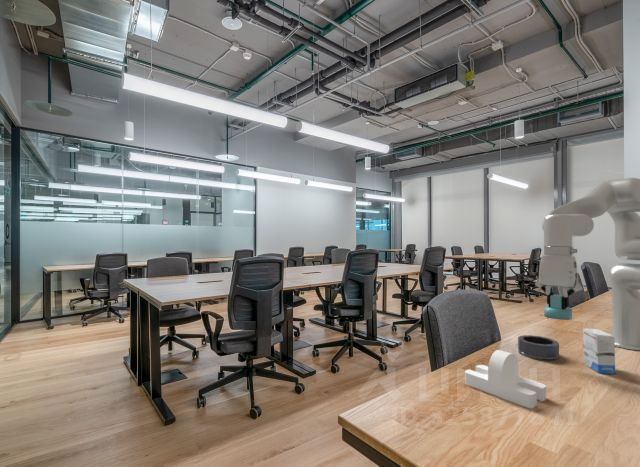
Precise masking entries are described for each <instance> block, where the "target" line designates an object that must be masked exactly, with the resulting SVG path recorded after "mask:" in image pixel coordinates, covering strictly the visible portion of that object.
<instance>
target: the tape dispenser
mask: <svg viewBox="0 0 640 467" xmlns="http://www.w3.org/2000/svg"><path fill="white" fill-rule="evenodd" d="M487 365H488V366H487ZM487 365H484V364H478V365H476V366H474V368H475V370H472V369H470V368H469V369H466V370H465V371H464V385H466V386H469V387H472V388H474V389H477V390H479V391H482V392H485V393H488V394H490V395H493V396H495V397H498V398H501V399H504V400H506V401H509V402H512V403H514V404H517V405H519V406H521V407H524V408H528V409H534V408H535V406H536V407H537V406H538V401H541V402H545V401H546V400H547V385H545V384H544V383H541V382H538V381H535V380H531V379H529V378H525V377H522V376H519V362H518V358H517V356H516V354H515V353H512V352H508V351H505V350H501V349H496V350H495V351H494V352H492V355H491V356H490V359H489V361H488V364H487Z"/></svg>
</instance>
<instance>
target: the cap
mask: <svg viewBox="0 0 640 467" xmlns="http://www.w3.org/2000/svg"><path fill="white" fill-rule="evenodd" d="M553 294H554V293H553ZM562 297H563V294H554V295H551V296H550V307H549V305H544V308H543V312H544V313H543V314H544V315H543V316H544V317H546V318H548V319H553V320H561V321H571V320H572V319H573V309H572V308H571V307H569V306H568V307H567V309H562Z"/></svg>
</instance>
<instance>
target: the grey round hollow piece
mask: <svg viewBox="0 0 640 467" xmlns="http://www.w3.org/2000/svg"><path fill="white" fill-rule="evenodd" d="M517 349H518V354H520V355H521V356H524V357H526V358H530V359H534V360H540V361H549V362H550V361H557V360H558V359H559V356H560V343H559V342H558V340H555V339H553V338H549V337H544V336H539V335H533V334H532V335H531V334H528V335H526V334H524V335H519V336H518V337H517Z"/></svg>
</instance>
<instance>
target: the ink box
mask: <svg viewBox="0 0 640 467" xmlns="http://www.w3.org/2000/svg"><path fill="white" fill-rule="evenodd" d="M582 332H583V333H582V334H583V335H582V337H583V338H582V339H583V340H582V341H583V342H582V343H583V344H582V345H583V346H582V347H583V348H582V349H583V352H582V353H583V364H584V365H585V366H587V367H589V368H590V369H592V370H593V371H595V372H597V373H598V374H610V375H611V374H612V375H615V374H616V355H615V354H616V352H615V347H616V346H614V336H612V334H609V333H608V332H605V331H604V330H601V329H597V328H583V329H582Z"/></svg>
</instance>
